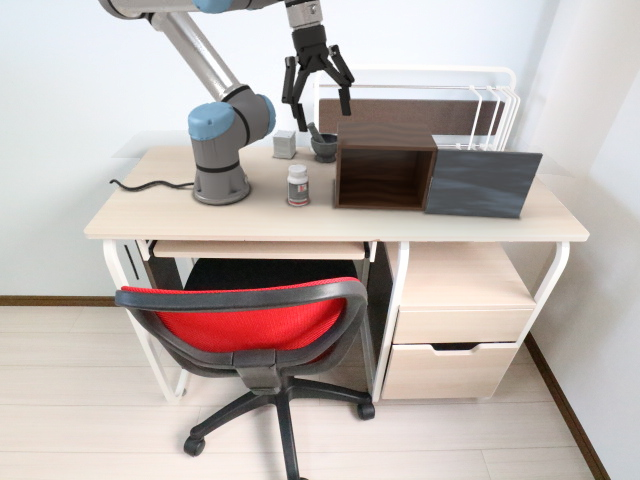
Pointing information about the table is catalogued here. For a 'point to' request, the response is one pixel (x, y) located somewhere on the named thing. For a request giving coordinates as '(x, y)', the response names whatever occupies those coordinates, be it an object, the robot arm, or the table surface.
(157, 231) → the table surface
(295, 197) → the pill bottle
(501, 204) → the cabinet door
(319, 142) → the mortar and pestle
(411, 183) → the cabinet
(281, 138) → the product box
